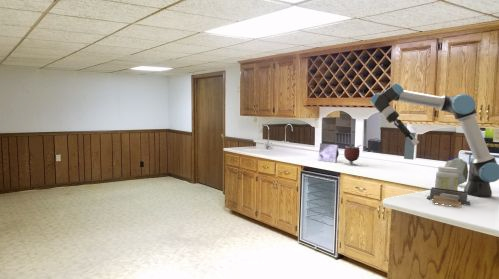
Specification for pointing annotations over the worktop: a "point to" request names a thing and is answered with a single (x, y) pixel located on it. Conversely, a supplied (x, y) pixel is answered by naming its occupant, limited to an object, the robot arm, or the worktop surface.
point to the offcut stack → (447, 199)
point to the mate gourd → (351, 154)
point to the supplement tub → (447, 178)
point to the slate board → (409, 148)
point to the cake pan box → (328, 153)
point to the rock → (459, 169)
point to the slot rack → (439, 191)
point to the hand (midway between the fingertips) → (417, 143)
